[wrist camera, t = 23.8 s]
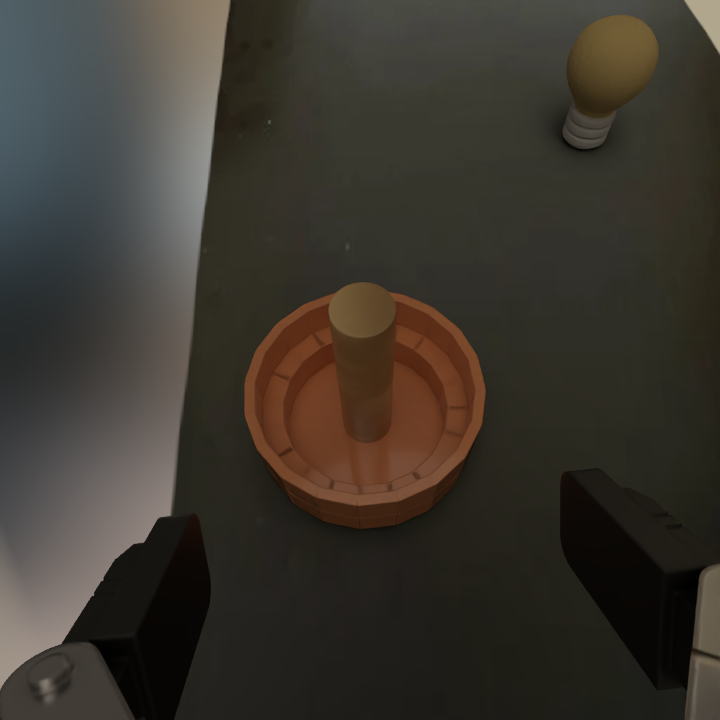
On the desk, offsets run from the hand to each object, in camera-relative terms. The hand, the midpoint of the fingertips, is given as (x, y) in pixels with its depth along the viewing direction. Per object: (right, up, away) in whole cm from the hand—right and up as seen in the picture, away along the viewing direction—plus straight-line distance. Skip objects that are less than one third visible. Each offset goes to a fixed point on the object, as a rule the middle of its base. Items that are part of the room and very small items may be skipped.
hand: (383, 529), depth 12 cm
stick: (0, 0, +22) cm, 22 cm away
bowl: (0, 0, +23) cm, 23 cm away
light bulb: (+19, +23, +36) cm, 47 cm away
